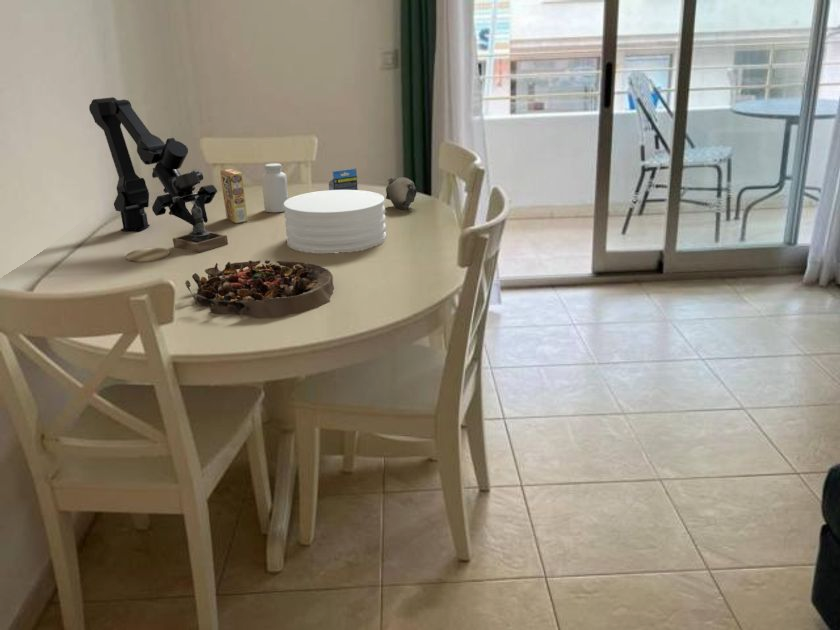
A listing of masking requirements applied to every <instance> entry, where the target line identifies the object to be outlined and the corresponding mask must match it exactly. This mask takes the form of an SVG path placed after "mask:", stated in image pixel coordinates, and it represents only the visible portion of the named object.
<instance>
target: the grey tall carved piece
mask: <svg viewBox="0 0 840 630" xmlns="http://www.w3.org/2000/svg"><path fill="white" fill-rule="evenodd" d="M192 207H193V206H192ZM192 207H191V210H190V214H191V215H192V217H193V218H194V220H195V222H196V225H195V226H193V225H192V231H191V232H189V233H188V234H189V236H190V238H191V240H192V241H193V242H194V243H198V242H202V241H206V240H208V239H209V234H210V232H211V231H209V230H206V228H205V222H204V219H203V217H202V210H201V208H200V207H198V206H197V205H196V204H195V207H193V208H192Z"/></svg>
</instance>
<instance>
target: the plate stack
mask: <svg viewBox="0 0 840 630" xmlns="http://www.w3.org/2000/svg"><path fill="white" fill-rule="evenodd" d="M385 204H386V203H385V196H383V195H382V194H381V193H378V192H374V191H369V190H360V189H358V190H329V189H328V190H318V191H312V192H305V193H301V194H298V195H295V196H291V197H288V199H287V200H286V201H285V202H284V209H285V211H284V219H285V228H286V230H285V233H286V234H285V235H286V237H287V238H286V243H287V246H288V247H289V248H291V249H292V248H293V250H295V249H296V250H295V251H298V250H299V252H302V251H305V252H304V253H308V252H314V253H313V254H319V253H335V252H348V253H352V252H351V251H355V252H358V251H357V250H361V251H363V250H362V249H365V250H368V249H367V248H369V249H371V248H370V247H372V248H374V247H373V246H375V247H377V246H376V245H378V244H380V243H381V244H383V243H384V242H385V241H386V240H387V233H386V227H387V226H386V225H387V224H386V215H385V213H386V208H385ZM385 239H386V240H385ZM384 240H385V241H384ZM383 241H384V242H383ZM382 242H383V243H382ZM381 244H380V245H381ZM378 246H379V245H378ZM335 254H336V253H335Z"/></svg>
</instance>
